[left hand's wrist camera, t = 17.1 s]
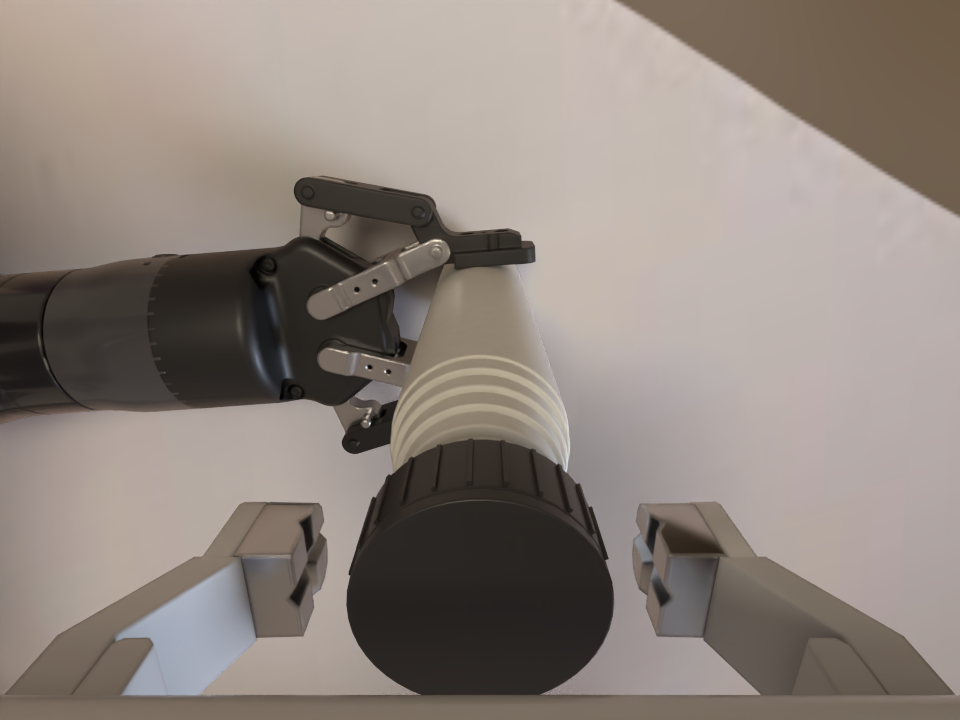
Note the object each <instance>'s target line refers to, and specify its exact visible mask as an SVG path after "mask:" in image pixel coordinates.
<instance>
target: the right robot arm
mask: <svg viewBox="0 0 960 720" xmlns="http://www.w3.org/2000/svg"><path fill="white" fill-rule="evenodd" d="M294 195H295V197H296V199H297V201H298V202H299V203H300V204H301V219H300V237H297V238H295V239H293V240H291V241H290V242H289V243H287V244H286V245H285V246H281V247H276V248H264V249H252V250H239V251H227V252H215V253H203V254H190V255H177V254H160V255H155V256H153V257H152V258H141V259H132V260H125V261H119V262H114V263H109V264H105V265H101V266H97V267H92V268H85V269H71V270H59V271H47V272H34V273H25V274H12V275H2V276H0V425H1V424H4V423H7V422H11V421H14V420H17V419H21V418H24V417H29V416H35V415H47V414H60V413H74V412H88V411H101V410H122V411H134V412H157V411H170V410H184V409H197V408H213V407H225V406H239V405H254V404H268V403H281V402H288V401H293V400H299V399H307V400H312V401H316V402H319V403H321V404H323V405H327V406H333V407H334V409H335V411H336V413H337V415H338V417H339V419H340V421H341V423H342V425H343V427H344V430H345V432H346V433H345V435H344V438H343V440H342V446H343V448H344V449H345V450H346V451H347V452H349V453H352V454H358V453H361V452H364V451H368V450H371V449H374V448H377V447H380V446H384V445H387V444H390V442H391V430H392V421H393V416H394V412H395V409H396V406H397V403H398V400H397V401H393V402H390V403H387V404H384V405H381V404H380V403H379V402H377V401H376V400H360V399H358V398H356V397H355V396H354V395H356V394H357V393H358V392H359V391H360V390H362V389H363V388H364V387H365V386H366V385H367V384H369V383H370V382H371V381H372V380H376V381H380V382H384V383H388V384H392V385H397V386H401V387H403V385H404V382H405V379H406V376H407V373H408V370H409V367H410V364H411V361H412V358H413V355H414V352H415V349H416V346H417V343H418V342H417V341H413V340H409V339H405V338H401V337H400V331H399V326H398V323H397V321H396V319H395V316H394V314H393V306H394V298H395V295H394V288H395V287H397V286H399V285H401V284H403V283H405V282H406V281H408V280H409V279H411V278H414V277H416V276H418V275H420V274H423V273H425V272H427V271H429V270H431V269H434V268H436V267H438V266H440V265H444V264H454V267H455V269H464V268H473V267H489V266H501V265H514V264H526V263H532V262H535V245H534V244H533V242H532V241H521V235H520V233H519V232H518V231H515V230H512V229H497V230H483V231H471V232H452V231H450V230H449V229H447V228H446V227H445V226H444V224H443V222H442V220H441V218H440V216H439V214H438V212H437V210H436V204H435V201H434V200H433V199H432V198H431V197H430V196H428V195H425V194H420V193H414V192H409V191H403V190H398V189H392V188H387V187H381V186H376V185H371V184H365V183H360V182H354V181H349V180H343V179H338V178H332V177H327V176H314V177H307V178H302V179H300V180H299V181H297V183H296V184H295V187H294ZM351 215H356V216H362V217H367V218H373V219H378V220H384V221H390V222H395V223H401V224H406V225H411V227H412V229H413V231H414V233H415V235H416V237H417V239H418V241H416V242H413V243H411V244H409V245H407V246H404V247H401V248H398V249H396V250H394V251H392V252H389V253H387V254H385V255H383V256H381V257H378V258H376V259H374V260H372V261H370V262H368V261H366V260H364V259H363V258H361V257H359V256H357V255H356V254H354V253H352V252H351V251H349V250H347V249H345V248H344V247H342V246H340V245H339V244H337V243H335V242H333V241H332V240H330V239H328V238H327V237H325V233H326V231H327V229H328V228H330V227H340V226H342V225H344V224H346V223H347V222H348V221H349V220H350V218H351ZM398 349H399V350H398ZM388 369H389V370H388Z"/></svg>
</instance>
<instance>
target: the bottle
mask: <svg viewBox="0 0 960 720" xmlns="http://www.w3.org/2000/svg"><path fill="white" fill-rule="evenodd" d="M471 438H473V440H475V439H488V440H497V441H501V440H505V441H506V442H509V443H513V444H517V445H520V446H523V447H526V448H529V449H532V448H533V449H535V450H536V452H537V453H539V454H541V455H543V456H545V457H547V458H548V459H550V460H551V461H553V462H554V463H556V464H558V463H559V464H560V465H562V468H563V470H564V471H565V472H566V473H567V468H568V460H569V454H570V438H569V426H568V419H567V415H566V411H565V408H564V405H563V402H562V399H561V396H560V393H559V390H558V387H557V384H556V381H555V378H554V375H553V372H552V369H551V366H550V363H549V360H548V357H547V354H546V351H545V348H544V346H543V343H542V340H541V337H540V334H539V331H538V328H537V325H536V322H535V319H534V316H533V313H532V310H531V307H530V304H529V301H528V298H527V295H526V292H525V289H524V286H523V283H522V280H521V277H520V274H519V271H518V269H517V266H516V264H514V265H501V266H489V267H473V268H464V269H455V267H454V264H445V265H444V267H443V269H442V272H441V275H440V278H439V281H438V284H437V287H436V290H435V293H434V296H433V299H432V302H431V305H430V308H429V311H428V314H427V317H426V320H425V323H424V326H423V328H422V331H421V334H420V337H419V340H418V343H417V346H416V349H415V352H414V355H413V358H412V361H411V364H410V367H409V370H408V373H407V376H406V379H405V382H404V385H403V388H402V391H401V394H400V397H399V400H398V403H397V406H396V409H395V412H394V416H393V421H392V430H391V442H390V450H391V458H392V463H393V472H395V471H396V470H398V469H399V468H400V467H401V466H402V465H404V464H405V463H406V462H408V459H409V458H410V457H413V458H414V457H415V456H417V455H419V454H421V453H423V452H425V451H427V450H429V449H432V448H435V447H437V445H439V444H441V445H444V444H448V443H452V442H456V441H463V440H468V439H471Z"/></svg>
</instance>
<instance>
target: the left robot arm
mask: <svg viewBox="0 0 960 720" xmlns="http://www.w3.org/2000/svg"><path fill="white" fill-rule="evenodd" d="M323 523H324V517H323V510H322V507H321V505H320V504H319V503H289V502H269V503H268V502H244V503H242V504H240V505H239V506H238V507H237V508H236V510H235V511H234V513H233V514H232V515H231V517H230V518H229V520H228V521H227V523H226V524H225V525H224V527H223V528H222V530H221V531H220V533H219V534H218V535H217V537H216V538H215V540H214V541H213V543H212V544H211V545H210V547H209V548H208V550H207V551H206V553H205V554H204V555H203V557H193V558H192V559H190V560H188V561H186V562H185V563H183V564H181V565H179V566H178V567H176V568H174V569H172V570H171V571H169V572H167V573H166V574H164V575H162V576H160V577H159V578H157V579H155V580H153V581H152V582H150V583H148V584H146V585H145V586H143V587H141V588H139V589H138V590H136V591H134V592H132V593H131V594H129V595H127V596H125V597H124V598H122V599H120V600H118V601H117V602H115V603H113V604H111V605H110V606H108V607H106V608H104V609H103V610H101V611H99V612H97V613H96V614H94V615H92V616H90V617H89V618H87V619H85V620H83V621H82V622H80V623H78V624H77V625H75V626H73V627H71V628H70V629H68V630H66V631H64V632H63V633H61V634H59V635H57V637H56V638H55V639H54V640H53V641H52V642H51V643H50V644H49V646H48V647H47V648H46V649H45V650H44V651H43V652H42V653H41V655H40V656H39V657H38V658H37V659H36V660H35V661H34V662H33V664H32V665H31V666H30V667H29V668H28V669H27V670H26V671H25V673H24V674H23V675H22V676H21V677H20V678H19V679H18V680H17V682H16V683H15V684H14V685H13V686H12V687H11V688H10V689H9V691H8V692H7V693H6V694H5V695H0V720H960V695H955V694H954V693H953V692H952V690H951V689H950V688H949V687H948V686H947V685H946V684H945V682H944V681H943V680H942V679H941V678H940V677H939V676H938V675H937V673H936V672H935V671H934V670H933V669H932V668H931V667H930V666H929V664H928V663H927V662H926V661H925V660H924V659H923V658H922V656H921V655H920V654H919V653H918V652H917V651H916V650H915V649H914V647H913V646H912V645H911V644H910V643H909V642H908V641H907V640H906V638H905V637H904V636H902V635H901V634H899V633H897V632H895V631H894V630H892V629H890V628H888V627H887V626H885V625H883V624H881V623H880V622H878V621H876V620H874V619H873V618H871V617H869V616H868V615H866V614H864V613H862V612H861V611H859V610H857V609H855V608H854V607H852V606H850V605H848V604H847V603H845V602H843V601H841V600H840V599H838V598H836V597H834V596H833V595H831V594H829V593H828V592H826V591H824V590H822V589H821V588H819V587H817V586H815V585H814V584H812V583H810V582H808V581H807V580H805V579H803V578H801V577H800V576H798V575H796V574H794V573H793V572H791V571H789V570H788V569H786V568H784V567H782V566H781V565H779V564H777V563H775V562H774V561H772V560H770V559H768V558H767V557H757V555H756V554H755V553H754V551H753V550H752V548H751V547H750V545H749V544H748V543H747V541H746V540H745V538H744V537H743V536H742V534H741V533H740V531H739V530H738V529H737V527H736V526H735V524H734V523H733V521H732V520H731V519H730V517H729V516H728V514H727V513H726V512H725V510H724V509H723V507H722V506H721V505H720V504H719V503H717V502H691V503H659V504H640V505H639V507H638V510H637V516H636V523H637V525H638V527H639V530H640V533H639V534H638V536H637V537H636V538H635V539H634V540H633V551H632V558H633V570H634V574H635V579H636V582H637V584H638V587H639V589H640V590H641V591H642V592H644V593H645V594H646V595H647V603H646V609H647V612H648V614H649V617H650V620H651V622H652V625H653V627H654V630H655V633H656V635H657V636H663V637H698V638H704V641H705V642H706V643H707V644H708V645H709V646H710V647H711V648H713V649H714V650H715V651H716V652H717V653H718V654H719V655H720V656H721V657H722V658H723V659H724V660H725V661H726V662H727V663H728V664H729V665H731V666H732V667H733V668H734V669H735V670H736V671H737V672H738V673H739V674H740V675H741V676H742V677H743V678H744V679H745V680H746V681H747V682H748V683H750V684H751V685H752V686H753V687H754V688H755V689H756V690H757V691H758V692H759V693H760V694H761V695H199V694H200V693H201V692H202V691H203V690H204V689H205V688H206V687H208V686H209V685H210V684H211V683H212V682H213V681H214V680H215V679H216V678H217V677H218V676H219V675H220V674H221V673H222V672H223V671H224V670H226V669H227V668H228V667H229V666H230V665H231V664H232V663H233V662H234V661H235V660H236V659H237V658H238V657H239V656H240V655H241V654H243V653H244V652H245V651H246V650H247V649H248V648H249V647H250V646H251V645H252V644H253V643H254V642H255V641H256V638H262V637H296V636H304V633H305V630H306V628H307V625H308V622H309V620H310V617H311V614H312V612H313V609H314V602H313V595H314V594H315V593H317V592H318V591H319V590H320V589H321V587H322V584H323V582H324V579H325V574H326V568H327V562H328V549H327V540H326V539H325V538H324V537H323V535H322V534H321V533H320V530H321V527H322V525H323Z"/></svg>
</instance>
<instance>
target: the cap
mask: <svg viewBox="0 0 960 720" xmlns="http://www.w3.org/2000/svg"><path fill="white" fill-rule="evenodd" d="M607 559H609V558H608V555H607V552H606V549H605V546H604V543H603V540H602V537H601V533H600V530H599V527H598V524H597V521H596V518H595V515H594V512H593V509H592V507H588V504H587V502H586V500H585V497H584V494H583V490H582V487H581V485H580V484H579V483H578V484H576V483H575V482H574V481H573V479H572V478H571V477H570V476H569V475H568V474H567V473H566V472H565V471H564V470H563V468H562V465H560V464H559V463H558V464H556V463H554V462H553V461H551V460H550V459H548V458H547V457H545V456H543V455H541V454H539V453H537V452H536V450H535V449H533V448H532V449H529V448H526V447H523V446H520V445H517V444H513V443H509V442H506V441H505V440H501V441H497V440H488V439H475V440H473V438H471V439H468V440H463V441H456V442H452V443H448V444H444V445H441V444H439V445H437V447H435V448H432V449H429V450H427V451H425V452H423V453H421V454H419V455H417V456H415V457H414V458H413V457H410V458H409V459H408V462H406V463H405V464H404V465H402V466H401V467H400V468H399V469H398V470H396V471H395V472H394V473H393V474H392V475H388V476H387V477H386V480H385V484H384V485H383V486H382V488H381V489H380V491H379V493H378V494H377V496H376V498H375V497H373V498H372V500H371V503H370V506H369V509H368V512H367V515H366V518H365V522H364V525H363V528H362V531H361V534H360V537H359V541H358V544H357V547H356V551H355V554H354V557H353V561H352V564H351V567H350V570H349V575H351V576H350V580H349V584H348V589H347V604H346V605H347V612H348V619H349V623H350V626H351V629H352V632H353V634H354V637H355V639H356V641H357V643H358V645H359V646H360V648H361V649H362V651H363V652H364V654H365V655H366V656H367V657H368V659H369V660H370V661H371V662H372V663H373V664H374V665H375V666H376V667H377V668H378V669H379V670H380V671H381V672H383V673H384V674H385V675H386V676H387V677H389V678H390V679H392V680H393V681H395V682H396V683H398V684H400V685H401V686H403V687H405V688H407V689H409V690H411V691H413V692H416V693H418V694H421V695H540V694H542V693H545V692H547V691H549V690H552V689H553V688H555V687H557V686H559V685H561V684H563V683H564V682H566V681H567V680H569V679H570V678H571V677H573V676H574V675H576V674H577V673H578V672H579V671H580V670H581V669H582V668H584V667H585V666H586V665H587V664H588V663H589V661H590V660H591V659H592V658H593V657H594V656H595V654H596V653H597V651H598V650H599V648H600V647H601V645H602V644H603V642H604V640H605V638H606V635H607V633H608V631H609V628H610V624H611V621H612V617H613V608H614V593H613V586H612V580H611V577H610V574H609V570H608V567H607V564H606V561H605V560H607Z"/></svg>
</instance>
